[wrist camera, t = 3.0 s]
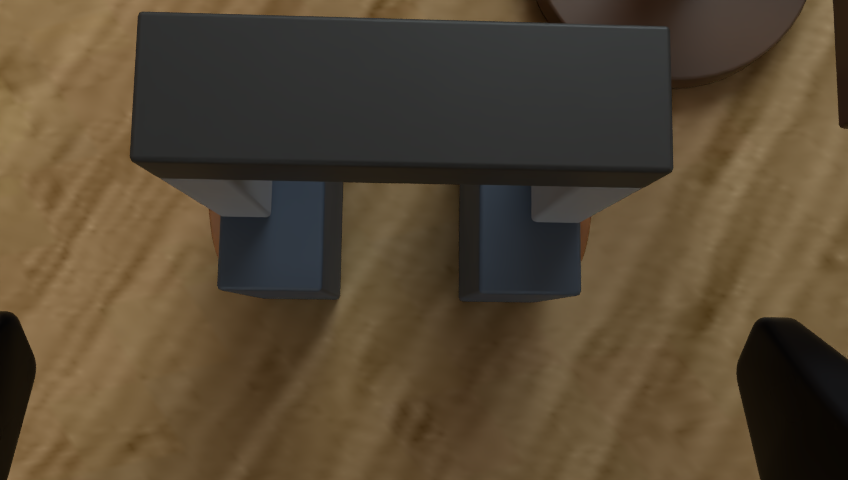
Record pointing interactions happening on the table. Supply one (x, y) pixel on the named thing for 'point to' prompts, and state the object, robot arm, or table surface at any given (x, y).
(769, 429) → the robot arm
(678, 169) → the table surface
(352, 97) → the dark blocky forked piece
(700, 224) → the table surface
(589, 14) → the headphone stand
